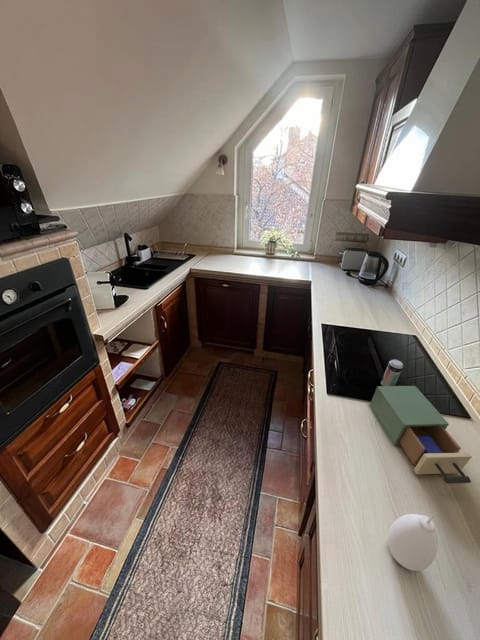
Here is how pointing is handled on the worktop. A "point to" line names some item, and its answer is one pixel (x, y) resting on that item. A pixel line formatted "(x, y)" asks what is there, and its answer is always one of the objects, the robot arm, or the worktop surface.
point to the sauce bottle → (413, 541)
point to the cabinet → (403, 410)
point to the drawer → (435, 461)
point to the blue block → (429, 445)
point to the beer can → (392, 373)
